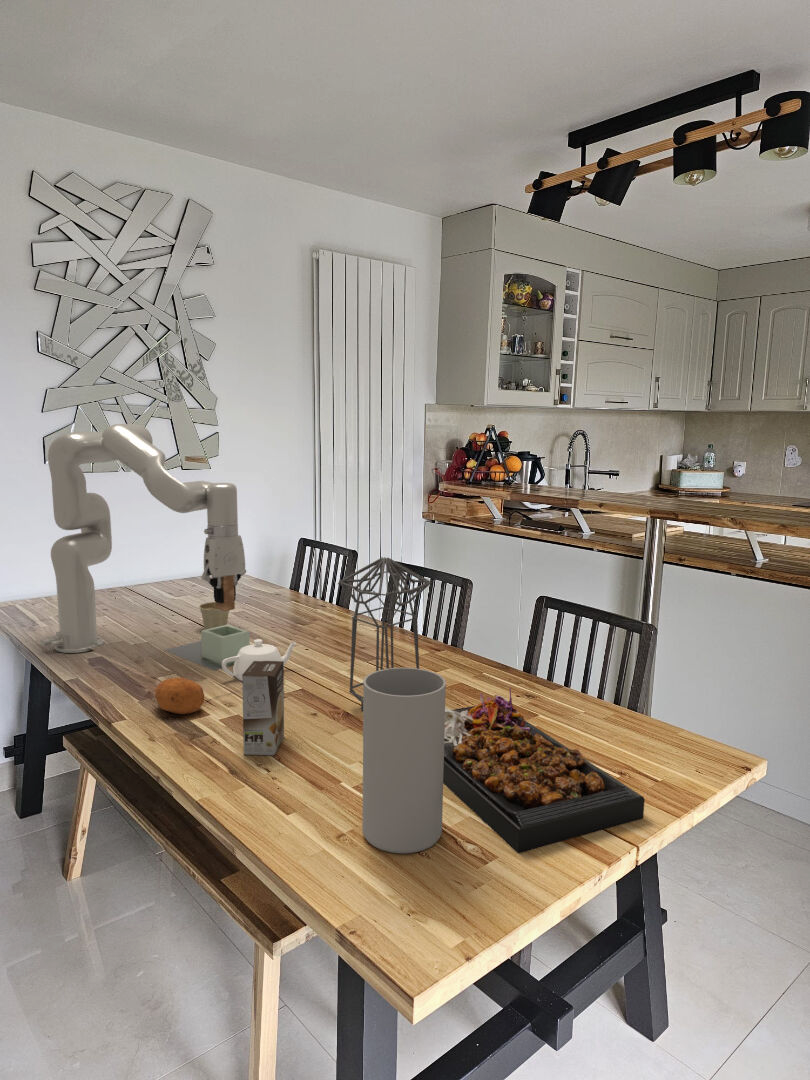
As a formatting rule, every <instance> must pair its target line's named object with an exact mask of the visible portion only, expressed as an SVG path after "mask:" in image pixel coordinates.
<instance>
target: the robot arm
mask: <svg viewBox="0 0 810 1080" xmlns="http://www.w3.org/2000/svg"><path fill="white" fill-rule="evenodd" d="M47 451H48V452H47V462H48V463H47V464H48V469H49V473H50V479H51V495H52V507H53V518H54V521H55V522H54V523H55V525H57V527H59V528H60V529H61V530H64V531H74V530H75V531H76V530H80V533H79V532H78V533H75V534H68V535H66V536H65V535H64V536H62V537H60V538H58V539H57V540H56V541H55V542H54V543H53V544H52V545H51V548H50V558H51V559H50V560H51V564H52V567H53V570H54V575H55V581H56V583H55V584H56V595H57V610H58V613H57V614H58V627H59V631H57V632H56V631H55V635H53V636H52V637H47V638H43V639H41V645H42V647H47V646H51V647H54V650H55V651H56V652H60V653H64V654H78V653H86V652H90V651H93V648H96V647H100V646H103V645H104V639H102V638H101V637H99V636H98V630H97V626H98V625H97V624H98V623H97V609H96V590H95V588H96V587H95V582H94V581H95V580H94V578H93V576H92V574H91V572H90V569H89V567H90V566H95V565H98V564H102V563H103V562H105V561H107V560H108V559H109V557H110V555H111V553H112V548H113V547H112V546H113V539H112V524H111V523H112V522H111V521H112V520H111V511H110V507H109V504H108V502H107V501H106V499H105V498H104V497H103V496H102V495H101V494H98V493H95V492H87V481H86V480H87V479H86V477H85V473H84V472H83V470H82V468H81V467H80V466H81V465H84V464H98V463H109V462H115V461H119V462H120V463H122V464H123V465H124V466H126V467H127V468H128V469H130V470H131V471H133V472H134V473H135V474H137V475H138V476H139V477H141V479H143V483H144V485H145V487H146V489H147V491H148V492H149V493H150V495H151V496H153V498H155V499H156V500H157V501H158V502H160V503H161V504H163V505H164V506H165V507H167V508H168V509H169V510H172V511H173V512H177V513H180V514H187V513H192V512H193V513H194V512H195V511H203V510H206V511H207V512H206V513H207V514H206V515H207V516H206V517H207V519H206V522H207V525H206V526H207V527H206V528H204V530H203V532H204V534H205V535H207V537H205V541H204V542H205V543H204V548H203V549H204V550H203V573H202V574H201V577H200V578H201V580H202V581H204V582H207V583H208V584H209V585H210V586H211V587H212V588H213V599H214V602H217V603H223V602H224V601H223V588H221V584H222V577H225V576H231V575H234V601H235V602H236V596H237V595H236V586H238V583H239V581H240V579H241V578H242V577H243V576H245V574H246V573H247V569H246V559H245V558H246V557H245V549H244V548H245V547H244V543H243V538H242V536H241V535H239V522H238V520H239V519H238V518H239V517H238V516H239V515H238V490H237V486H236V485H235V484H234V483H231V482H211V481H207V480H206V481H205V480H195V481H186V482H181V481H180V480H178V479H177V478H175V477H174V476H173V475H171V474H170V473H169V472H168V471H167V470H166V469H165V468H164V467H165V463H166V461H167V460H166V459H167V458H166V455H165V452H163V451H162V450H161V449H160V448H158V447H156V446H155V445H154V444H153V437H152V434H151V432H150V430H149V429H148V428H146V427H145V426H143V425H141V424H137V423H117V424H112V425H109V426H108V427H106V428H105V429H104V430H102V431H73V432H72V431H71V432H66V433H63V434H60V435H59V436H57V437H56V438H54V440H53V441H52V442H51V444H50V445H49V448H48V450H47ZM210 576H211V577H210Z"/></svg>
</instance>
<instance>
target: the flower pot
mask: <svg viewBox="0 0 810 1080" xmlns="http://www.w3.org/2000/svg"><path fill="white" fill-rule="evenodd" d="M198 608H199V609H200V613H201V616H202V622H203V623H202V624H203V630H206V629H211V628H215V627H219V626H224V625H228V621H229V613H230V611H231V610H228V611H223V610H219V609H216V602H215V601H209V602H205V603H201V604H199V606H198Z"/></svg>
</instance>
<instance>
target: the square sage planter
mask: <svg viewBox="0 0 810 1080" xmlns="http://www.w3.org/2000/svg"><path fill="white" fill-rule="evenodd" d="M200 632H201V637H200V638H201V640H200V641H201V642H202V659H203V660H205V661H208V662H210V663H213V664H215V665H218V666H220V667H222V661H223V660H224V659H226V658H230V657H234V656H237V654H238V652H239V651H240V649H241V648H242V647H244V646H247V645H251V643H250V641H251V639H250V631H249V630H247V629H244V628H243V629H242V628H240V627H237V626H234V625H231V624H227V625H224V626H219V627H215V628H211V629H206V630H204V629H202V630H200ZM234 663H235V661H230V662H227V663H226V667H227V666H229V667H231V666H230V665H232V666H234ZM227 668H228V667H227Z"/></svg>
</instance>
